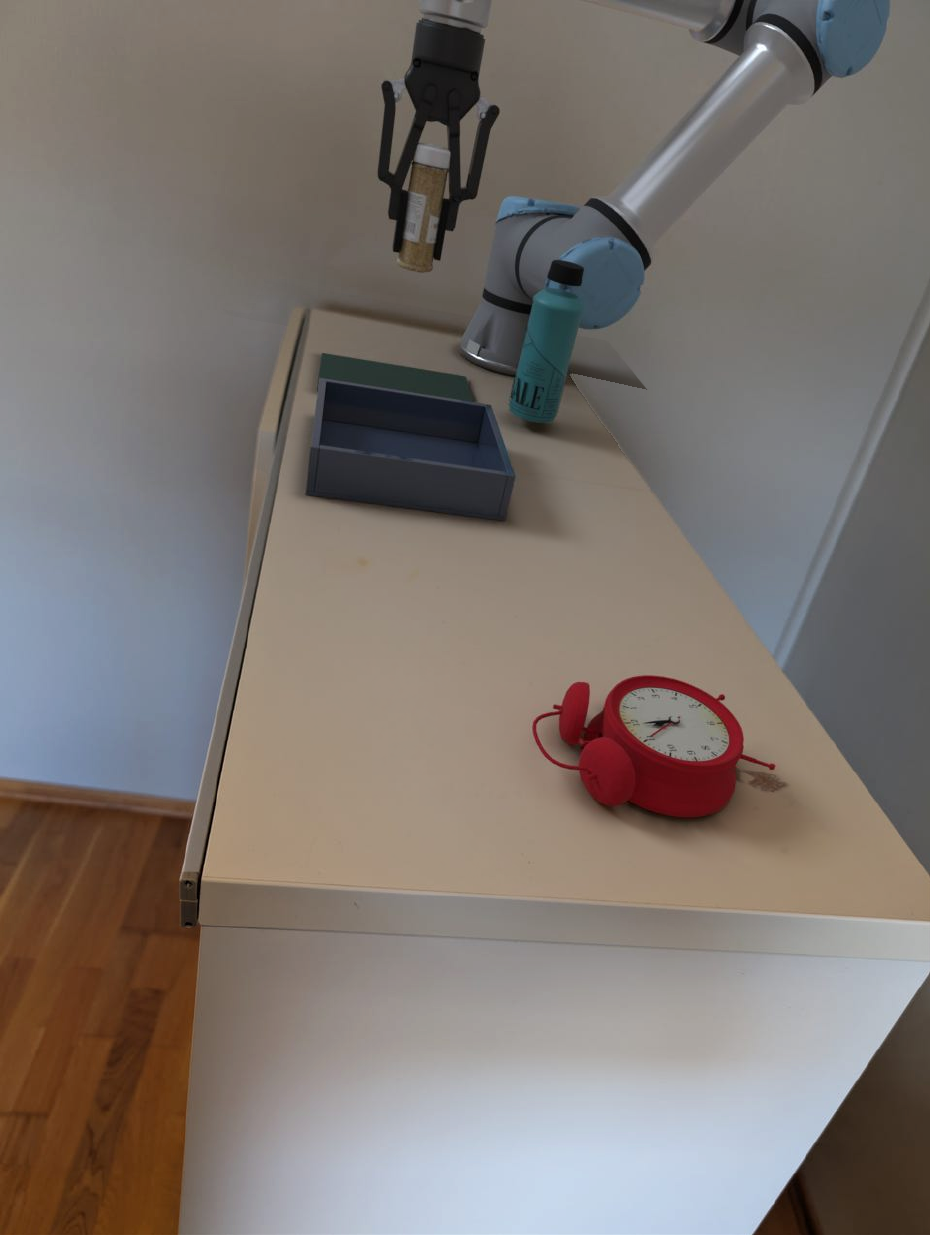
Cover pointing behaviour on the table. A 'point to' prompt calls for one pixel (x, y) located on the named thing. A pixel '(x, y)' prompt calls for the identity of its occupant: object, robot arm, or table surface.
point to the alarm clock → (654, 745)
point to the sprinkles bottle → (423, 207)
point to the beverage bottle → (547, 346)
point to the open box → (408, 451)
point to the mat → (394, 377)
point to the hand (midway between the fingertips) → (416, 253)
